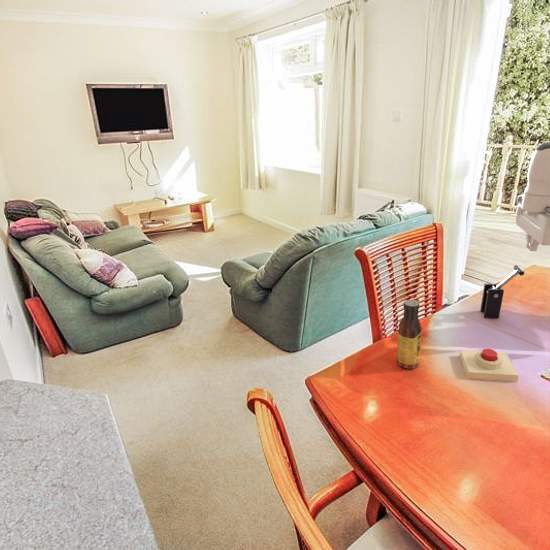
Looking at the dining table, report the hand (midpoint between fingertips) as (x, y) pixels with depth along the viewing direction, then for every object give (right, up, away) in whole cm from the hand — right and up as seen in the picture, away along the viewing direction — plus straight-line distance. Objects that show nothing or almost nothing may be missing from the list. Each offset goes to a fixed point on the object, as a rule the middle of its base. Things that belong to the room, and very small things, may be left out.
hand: (531, 249), depth 110 cm
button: (-16, -30, -7) cm, 35 cm away
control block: (-16, -34, -5) cm, 38 cm away
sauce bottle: (-36, -33, 0) cm, 49 cm away
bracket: (-2, -22, +18) cm, 28 cm away
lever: (0, -10, +12) cm, 16 cm away
